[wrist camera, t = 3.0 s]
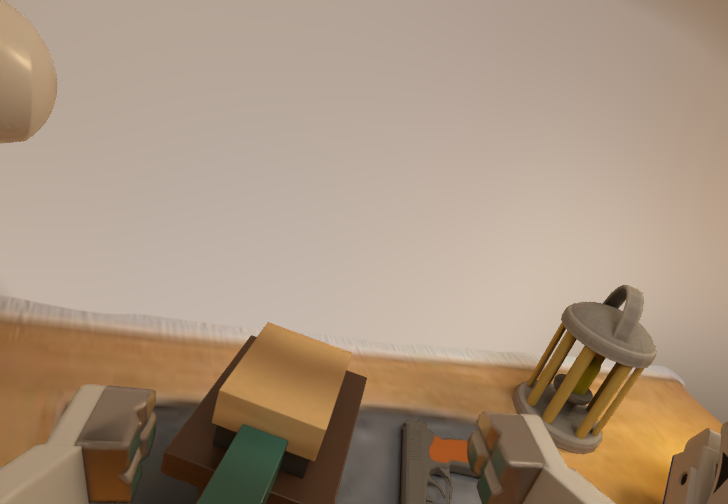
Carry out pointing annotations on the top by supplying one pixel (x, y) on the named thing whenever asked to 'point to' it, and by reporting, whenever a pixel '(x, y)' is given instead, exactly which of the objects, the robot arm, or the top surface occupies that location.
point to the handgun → (429, 461)
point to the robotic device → (700, 470)
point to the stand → (289, 493)
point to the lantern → (588, 369)
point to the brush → (273, 413)
